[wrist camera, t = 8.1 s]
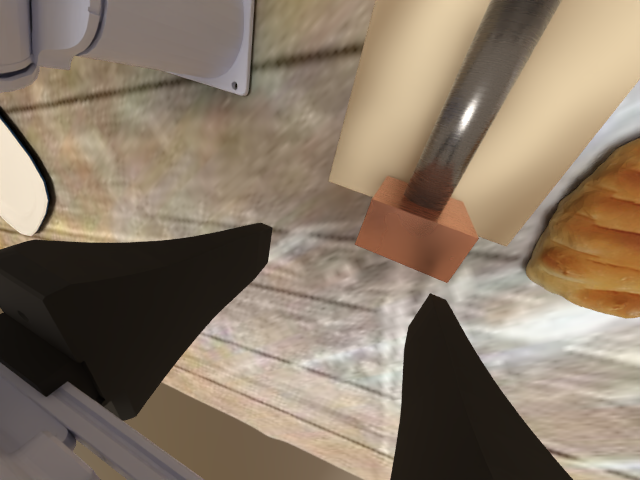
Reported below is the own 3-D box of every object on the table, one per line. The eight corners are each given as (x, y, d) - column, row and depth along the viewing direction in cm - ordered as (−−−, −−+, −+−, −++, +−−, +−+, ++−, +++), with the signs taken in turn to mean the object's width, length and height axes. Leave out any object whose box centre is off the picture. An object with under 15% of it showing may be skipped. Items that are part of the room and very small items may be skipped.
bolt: (373, 211, 15) (354, 244, 11) (457, -2, 10) (477, -79, 6) (441, 237, 15) (447, 282, 11) (573, 18, 9) (685, -56, 5)
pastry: (577, 124, 12) (630, 127, 9) (780, 122, 10) (939, 125, 7) (514, 273, 17) (536, 310, 14) (648, 294, 15) (711, 344, 11)
